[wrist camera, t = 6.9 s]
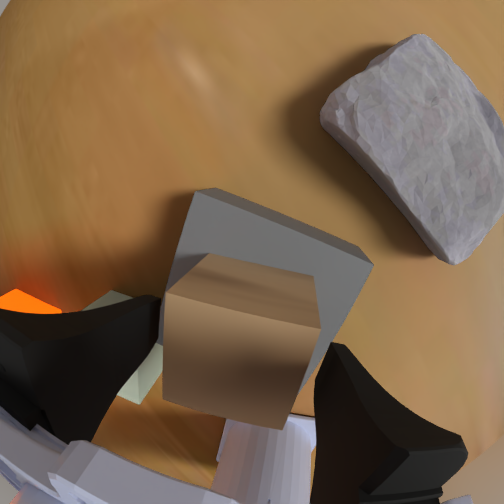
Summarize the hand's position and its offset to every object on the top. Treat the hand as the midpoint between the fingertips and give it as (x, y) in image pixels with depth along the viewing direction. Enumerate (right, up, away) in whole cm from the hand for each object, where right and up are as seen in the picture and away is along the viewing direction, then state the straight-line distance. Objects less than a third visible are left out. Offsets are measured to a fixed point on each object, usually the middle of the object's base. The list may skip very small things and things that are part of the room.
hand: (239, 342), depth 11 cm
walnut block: (0, +1, +3) cm, 3 cm away
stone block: (+11, +11, +3) cm, 16 cm away
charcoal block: (+1, +2, +7) cm, 7 cm away
